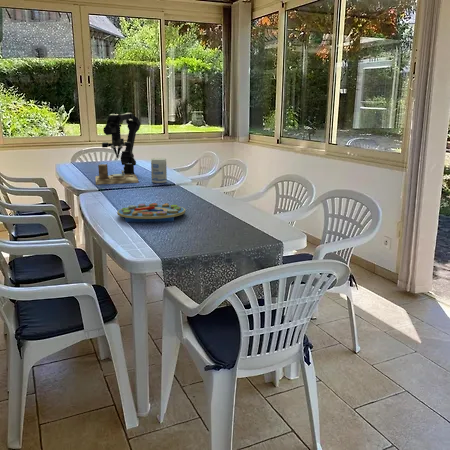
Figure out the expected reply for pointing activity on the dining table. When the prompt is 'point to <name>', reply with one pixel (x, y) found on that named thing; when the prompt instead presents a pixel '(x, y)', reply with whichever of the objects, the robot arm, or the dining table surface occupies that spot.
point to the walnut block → (103, 171)
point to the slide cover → (119, 174)
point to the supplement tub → (158, 170)
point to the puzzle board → (118, 179)
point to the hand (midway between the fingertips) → (117, 157)
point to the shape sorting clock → (151, 212)
